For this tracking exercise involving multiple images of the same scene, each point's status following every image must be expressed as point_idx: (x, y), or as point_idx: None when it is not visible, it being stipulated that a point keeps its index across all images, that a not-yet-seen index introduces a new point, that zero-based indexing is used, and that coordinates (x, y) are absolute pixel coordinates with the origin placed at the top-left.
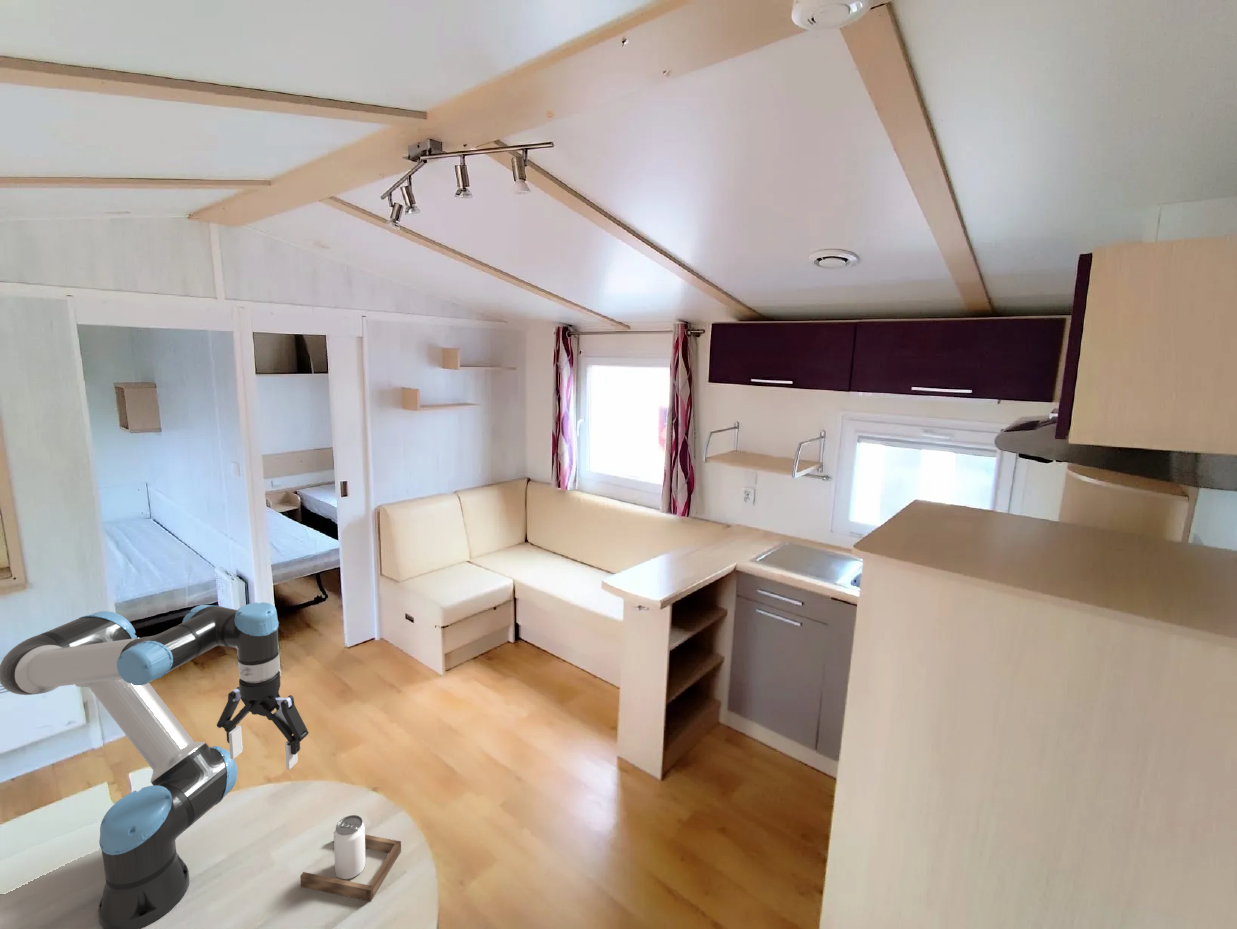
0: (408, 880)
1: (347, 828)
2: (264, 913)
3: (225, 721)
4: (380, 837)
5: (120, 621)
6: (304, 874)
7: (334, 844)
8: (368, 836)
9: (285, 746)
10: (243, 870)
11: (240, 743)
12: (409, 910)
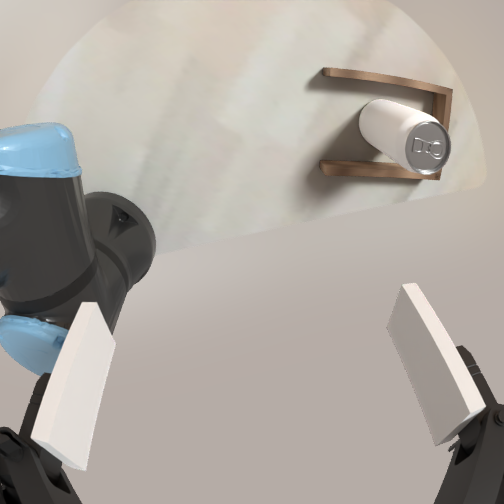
0: (462, 135)
1: (427, 154)
2: (292, 216)
3: (12, 483)
4: (420, 81)
5: None
6: (331, 172)
7: (392, 158)
8: (399, 80)
9: (429, 427)
10: (198, 163)
11: (84, 353)
12: (471, 177)
